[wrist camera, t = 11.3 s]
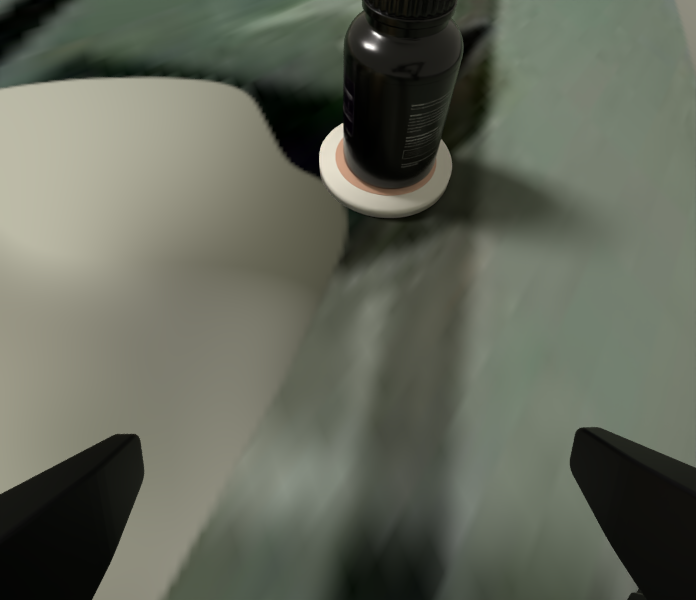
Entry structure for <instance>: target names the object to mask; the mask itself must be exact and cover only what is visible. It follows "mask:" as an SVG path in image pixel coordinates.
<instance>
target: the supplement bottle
mask: <svg viewBox="0 0 696 600" xmlns="http://www.w3.org/2000/svg"><path fill="white" fill-rule="evenodd" d="M456 5H457V0H362V7H363V9H364V10H363V11H362V12H361V13H359V14H358V15H357V16H356V17H355V18H354V20H353V21H352V22H351V24H350V26H349V28H348V30H347V32H346V35H345V39H344V84H343V154H344V160H345V163H346V165H347V167H348V169H349V170H350V171H351V173H352V174H353V175H354V176H355V177H356V178H358V179H359V180H360V181H362V182H364V183H366V184H368V185H370V186H373V187H377V188H382V189H402V188H406V187H410V186H412V185H414V184H416V183H418V182H420V181H421V180H423V179H424V178H425V177H426V176H427V175H428V174H429V173H430V171H431V170H432V168H433V166H434V163H435V160H436V156H437V153H438V149H439V145H440V141H441V138H442V134H443V130H444V126H445V122H446V118H447V114H448V110H449V107H450V103H451V99H452V95H453V91H454V87H455V83H456V79H457V76H458V72H459V68H460V64H461V60H462V55H463V39H462V35H461V32H460V30H459V28H458V26H457V24H456V23H455V22H454V20H453V19H452V16H453V15H454V13H455V10H456Z"/></svg>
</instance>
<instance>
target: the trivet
mask: <svg viewBox="0 0 696 600" xmlns="http://www.w3.org/2000/svg"><path fill="white" fill-rule="evenodd" d="M319 164H320V175H321V179H322V182H323V184H324V186H325V187H326V189H327V190H328V192H329V193H330V194H331V195H332V196H333V197H334V198H335V199H336V200H337V201H338V202H340V203H341V204H342V205H344V206H346V207H347V208H349V209H351V210H353V211H356V212H358V213H361V214H364V215H368V216H372V217H379V218H400V217H406V216H411V215H414V214H417V213H420V212H422V211H424V210H426V209H428V208H429V207H431V206H432V205H433V204H435V203H436V202H437V201H438V200H439V199H440V198H441V196H442V195H443V193H444V192H445V190H446V187H447V184H448V182H449V179H450V176H451V172H452V160H451V155H450V153H449V150H448V148H447V147H446V145H445V143H444V142H443V141H442V140H441V141H440V145H439V149H438V153H437V156H436V160H435V163H434V166H433V168H432V170H431V171H430V173H429V174H428V175H427V176H426V177H425V178H424V179H423V180H421V181H420V182H418V183H416V184H414V185H412V186H410V187H406V188H402V189H382V188H377V187H373V186H370V185H368V184H366V183H364V182H362V181H360V180H359V179H358V178H356V177H355V176H354V175H353V174H352V173H351V171H350V170H349V169H348V167H347V165H346V163H345V160H344V154H343V123H342V124H341V125H339V126H338V127H336V128H335V129H334V130H332V131H331V132H330V133H329V135H328V136H327V137H326V138H325V140H324V142H323V144H322V146H321V149H320V154H319Z"/></svg>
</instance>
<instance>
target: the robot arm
mask: <svg viewBox="0 0 696 600" xmlns="http://www.w3.org/2000/svg"><path fill="white" fill-rule="evenodd" d="M570 468H571V471H572V474H573V476H574V478H575V480H576V481H577V483H578V485H579V487H580V489H581V491H582V493H583V495H584V496H585V498H586V500H587V502H588V504H589V506H590V508H591V510H592V511H593V513H594V515H595V517H596V519H597V521H598V523H599V524H600V526H601V528H602V530H603V532H604V534H605V535H606V537H607V539H608V541H609V542H610V544H611V546H612V547H613V549H614V551H615V552H616V554H617V555H618V557H619V559H620V560H621V562H622V563H623V565H624V566H625V568H626V569H627V571H628V572H629V574H630V575H631V577H632V579H633V580H634V582H635V583H636V585H637V586H638V588H639V589H638V591H637V593H631V594H630V596H629V598H628V599H627V600H696V468H695V467H693V466H690V465H688V464H685V463H683V462H681V461H678V460H676V459H674V458H671V457H669V456H666V455H664V454H662V453H659V452H657V451H654V450H652V449H650V448H647V447H645V446H642V445H640V444H638V443H635V442H633V441H631V440H628V439H626V438H623V437H621V436H619V435H616V434H614V433H611V432H609V431H607V430H604V429H602V428H598V427H583V428H579V429H578V430H577V431H576V433H575V437H574V442H573V447H572V452H571V457H570ZM143 478H144V464H143V456H142V449H141V442H140V438H139V436H137V435H136V434H115V435H113V436H111V437H109V438H107V439H105V440H103V441H101V442H99V443H97V444H96V445H94V446H92V447H90V448H88V449H86V450H84V451H82V452H80V453H78V454H76V455H74V456H73V457H71V458H69V459H67V460H65V461H63V462H61V463H59V464H57V465H55V466H53V467H52V468H50V469H48V470H46V471H44V472H42V473H40V474H38V475H36V476H34V477H32V478H30V479H29V480H27V481H25V482H23V483H21V484H19V485H17V486H15V487H13V488H12V489H9V490H8V491H6V492H4V493H2V494H0V600H92V599H93V596H94V594H95V593H96V591H97V589H98V587H99V585H100V583H101V581H102V579H103V577H104V575H105V573H106V571H107V569H108V567H109V565H110V562H111V560H112V558H113V556H114V553H115V551H116V548H117V546H118V544H119V541H120V538H121V536H122V533H123V531H124V528H125V526H126V523H127V520H128V518H129V515H130V513H131V510H132V508H133V505H134V502H135V500H136V497H137V495H138V492H139V490H140V487H141V484H142V481H143Z"/></svg>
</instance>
